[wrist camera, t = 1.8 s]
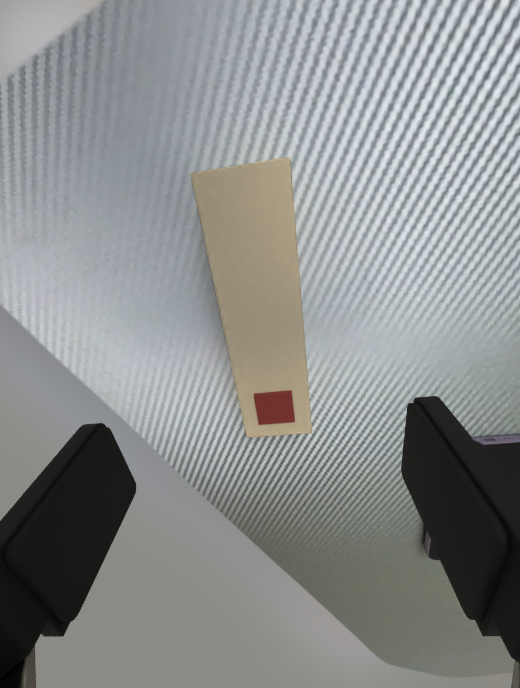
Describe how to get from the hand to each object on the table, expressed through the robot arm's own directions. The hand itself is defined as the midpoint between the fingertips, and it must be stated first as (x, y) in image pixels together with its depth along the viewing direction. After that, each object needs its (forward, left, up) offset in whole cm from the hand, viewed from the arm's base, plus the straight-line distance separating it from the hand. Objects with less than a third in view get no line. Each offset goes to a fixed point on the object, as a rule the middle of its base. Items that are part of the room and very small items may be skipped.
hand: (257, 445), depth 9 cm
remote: (0, 0, -11) cm, 11 cm away
